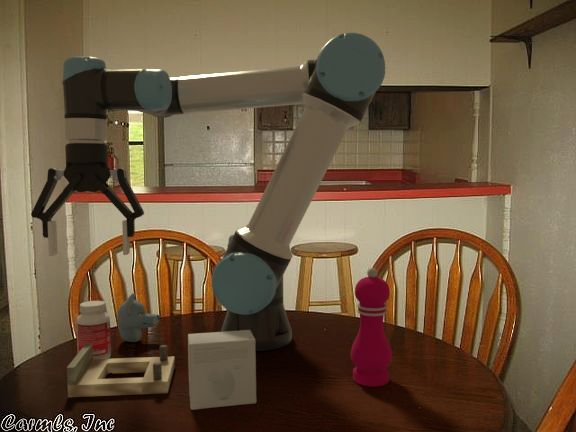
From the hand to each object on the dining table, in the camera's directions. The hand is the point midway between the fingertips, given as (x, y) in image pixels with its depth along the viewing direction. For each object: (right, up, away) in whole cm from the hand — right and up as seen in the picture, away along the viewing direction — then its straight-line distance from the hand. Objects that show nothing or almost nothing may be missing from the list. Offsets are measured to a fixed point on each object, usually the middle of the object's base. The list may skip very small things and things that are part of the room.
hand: (90, 254), depth 107 cm
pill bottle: (0, -21, +2) cm, 21 cm away
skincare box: (+27, -23, -16) cm, 39 cm away
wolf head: (+6, -20, +13) cm, 24 cm away
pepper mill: (+53, -22, -9) cm, 57 cm away
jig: (+9, -22, -9) cm, 25 cm away
